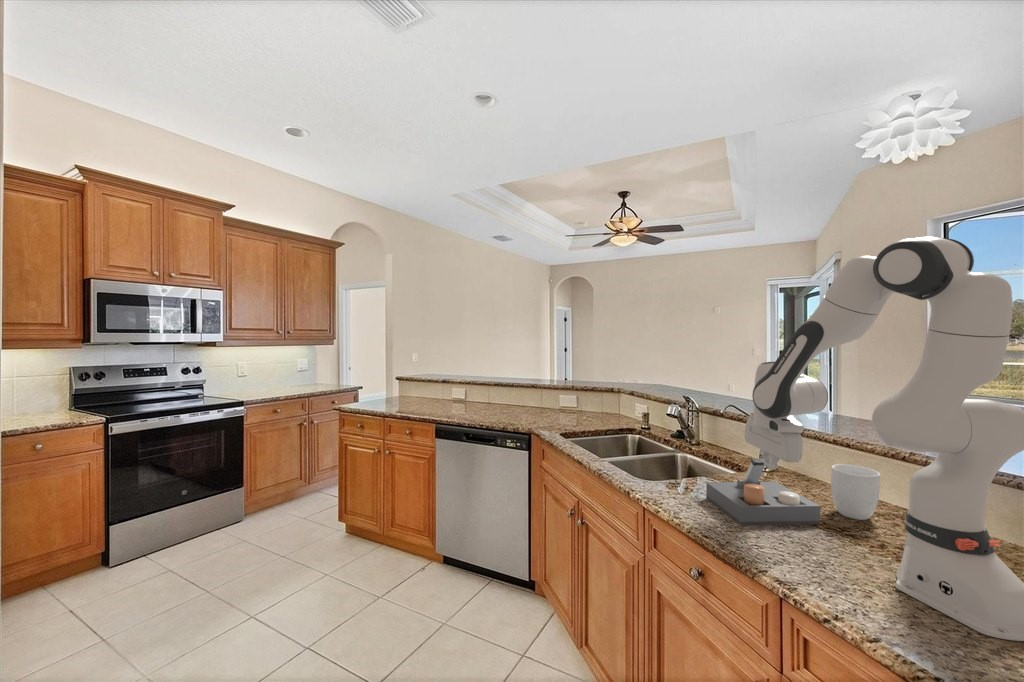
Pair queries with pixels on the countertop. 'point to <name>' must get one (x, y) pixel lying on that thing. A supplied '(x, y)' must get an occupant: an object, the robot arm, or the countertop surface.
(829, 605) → the countertop surface
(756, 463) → the lever
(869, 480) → the mug
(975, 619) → the robot arm
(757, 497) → the terracotta button
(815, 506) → the console
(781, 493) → the white button
